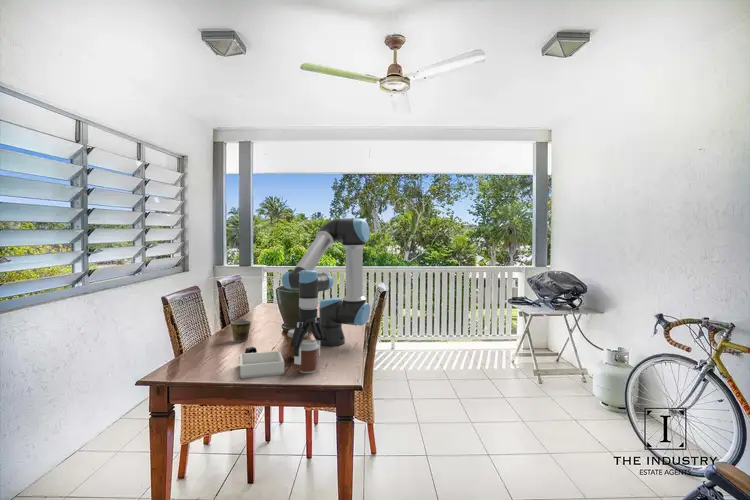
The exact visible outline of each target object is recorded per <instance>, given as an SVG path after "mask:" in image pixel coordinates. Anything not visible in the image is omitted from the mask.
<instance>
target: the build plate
mask: <svg viewBox="0 0 750 500" xmlns="http://www.w3.org/2000/svg"><path fill="white" fill-rule="evenodd" d="M246 353H258V350H257V348H256V347H254V346H250V347H246V348H245V350H244V354H246Z"/></svg>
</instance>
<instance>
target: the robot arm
mask: <svg viewBox="0 0 750 500" xmlns="http://www.w3.org/2000/svg"><path fill="white" fill-rule="evenodd" d="M370 233H371V232H370V227H369V224H368V222H367V221H366V220H365V219H364V218H359V217H358V218H357V217H354V218H353V217H351V218H335V219H332V220H330V221H328V222H327V223H325V224H324V225H323V226H322V227H320V229H319V230H318V231H317V232H316V234H315V239H314V240H313V242H312V243H311V245H310V246H309V247H308V249H307V250H306V251H305V253H304V254H303V256H302V257H301V259H300V260H299V261H298V263H297V264H296V266H295V267H294V269H293V270H292V271H287V272H284V274H283V275H282V277H281V278H282V279H281V284H282V286H283V287H284V288H285V289H288V290H298V295H299V296H298V298H299V299H298V307H299V309H298V318H300V321H296V322H295V326H294V329H295V330H294V334H293V337H292V341H291V344H290V346H289V348H290V347H293V348H294V358H293V359H294V361H293V364H294V365H299V366H300V364H301V348H300V345H301V343H302V341H303V339H304V336H305V334H306V333H307V332H308V333H309V332H311V334H312V336H313V338H314V340H315V341H316V342H317V344H318V345H319V348H318V349H317V357H320V356H321V346H323V347H337V346H342V345H344V344H345V343H346V337H345V334H344V331H343V325H348V326H364V325H365V324H366V323H367V322H368V320H369V318H370V314H371V306H370V303H368V302H367V301H366V300H367V299H366V297H365V296H364V294H363V293H364V292H363V289H364V288H363V287H364V285H363V284H364V283H363V277H364V276H363V273H364V271H363V267H364V265H363V262H364V261H363V248H364V247H366V242H368V241H369V240H370V235H371V234H370ZM336 242H337V243H338V242H342V244H341V245H342V246H343V248H344V249H345V296H344V297H343V298H342V297H331V298H325V299H324V298H323V299H321V300H320V302H319V303H318V301H319V300H318V299H319V297H318V296H319V295H318V292H323V291H324V292H326V291H328V290H329V289H331V288H332V287H333V284H334V279H333V277H332V275H331V274H329V273H327V272H322V273H318V271H317V270H315V269H316V267H317V265H318V264H319V262H320V260H321V259H322V257H323V256H324V255H325V253H326V251H327V250H328V248H329V247H332V246H333V245H334V243H336ZM318 304H319V305H318ZM318 306H319V307H318ZM318 310H319V314H318ZM318 316H319V317H318ZM302 329H303V330H302Z"/></svg>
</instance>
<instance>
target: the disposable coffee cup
mask: <svg viewBox="0 0 750 500" xmlns="http://www.w3.org/2000/svg"><path fill="white" fill-rule="evenodd" d="M294 330H295V328H292V329H289V330H288V331H287V335H286V336H287V337H288V343H289V344H288V345H289V353H290V358H291V359H294V348H293V347H290V344H291V341H292V337H293V334H294ZM302 330H303V329H302ZM308 335H309V331H308V332H307V333H306V334H305V336H304V339H303V340H308Z"/></svg>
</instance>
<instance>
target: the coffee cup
mask: <svg viewBox="0 0 750 500" xmlns="http://www.w3.org/2000/svg"><path fill="white" fill-rule="evenodd" d="M315 340H316V339H307V340H303V341H302V343H301V345H300V348H301V364H300V365H299V372H300V373H302V374H312V373H315V372H316V371H317V358H318V356H317V349H318V348H319V345H318V344H317V342H316V341H315Z"/></svg>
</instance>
